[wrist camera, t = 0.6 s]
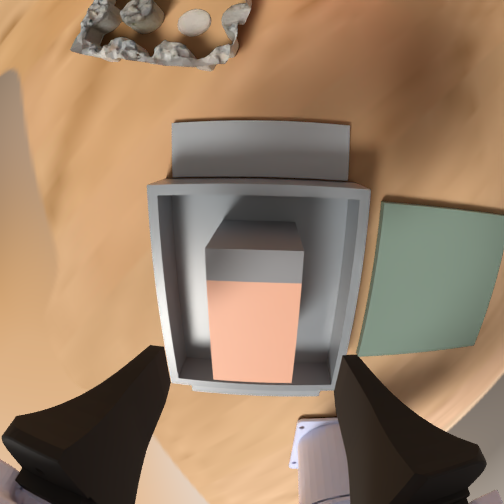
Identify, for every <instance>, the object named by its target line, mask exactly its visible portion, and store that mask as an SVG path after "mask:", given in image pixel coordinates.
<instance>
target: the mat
mask: <svg viewBox="0 0 504 504" xmlns="http://www.w3.org/2000/svg"><path fill="white" fill-rule="evenodd" d="M503 250H504V215H501V214H494V213H487V212H480V211H472V210H464V209H456V208H447V207H438V206H428V205H418V204H407V203H396V202H384V201H381V210H380V219H379V228H378V236H377V244H376V251H375V258H374V265H373V271H372V277H371V283H370V289H369V294H368V300H367V305H366V310H365V315H364V320H363V325H362V330H361V334H360V339H359V343H358V347H357V351H356V353H357V355H358V357H361V356H380V355H394V354H406V353H417V352H427V351H436V350H444V349H452V348H460V347H467V346H473V345H474V344H475V341H476V339H477V336H478V333H479V331H480V328H481V325H482V323H483V320H484V317H485V314H486V311H487V308H488V305H489V302H490V299H491V296H492V292H493V289H494V286H495V282H496V279H497V275H498V271H499V267H500V263H501V259H502V255H503Z"/></svg>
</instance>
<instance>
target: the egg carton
mask: <svg viewBox="0 0 504 504" xmlns="http://www.w3.org/2000/svg"><path fill="white" fill-rule="evenodd" d="M245 1H246V3H239V4H236V5H233V6H231V7H230V8H228V9H227V10H226V11H225V12H224V14H223V16H222V26H223V28H224V30H225V32H226V34H227V36H228V38H229V39H230V40H231V41H233V43H232V44H231V45H230V44H227V45H223V46H218V47H216V48H215V49H214V50H213V51H212V52H211V53H210V54H209V55H208V56H206V57H205V58H201V59H196V57H195V56H194V55H193V54H192V52H191V51H190V50H189V49H188V48H187V47H186V46H185V45H184V44H182V43H179V42H168V41H166V40H164V41H163V42H162V43H161V44H159V45H158V46H156V47H155V48H154V55H153V56H152V57H150V56H149V53H148V52H147V50H145V49H144V48H142V47H141V46H139V45H138V44H136V43H135V42H134V41H133V40H130V39H128V38H126V37H119V38H115V39H114V40H111V41H110V43H109V44H108V45H103V47H101V46H100V45H101V42H102V39H103V36H104V35H105V34H107V33H109V32H111V31H113V30H114V29H116V28H117V27H118V26H119V24H120V23H121V21H123V22H124V23H125V24H126V25H128V26H130V27H131V28H132V29H134V30H135V31H137V32H138V33H141V34H147V33H151V32H153V31H154V30H156V29H157V28H159V27H160V26H161V24H162V23H163V20H164V13H163V11H162V10H161V9H160V8H159V6H158V5H157V4H156V3H155V2H154V1H153V0H131V1H130V2H128V3H127V4H126V6H125V7H124V8H123V9H122V10H120V9H118V8H117V7H116V6H114V5H115V3H116V0H94V2H93V4H92V5H91V6H90V8H88V11H87V14H86V16H85V18H84V19H83V21H82V22H81V32H80V33H79V35H78V36H77V37H76V39H75V41H74V43H73V45H72V47H71V49H70V50H71V51H72V52H76V53H80V54H84V55H89V56H94V57H100V58H102V59H104V60H107V61H109V62H119V61H120V60H121V58H122V59H126V60H132V61H142V62H148V63H150V64H158V65H165V66H184V67H196V68H197V69H200V70H205V71H213V70H214V67H215V66H216V64H225V63H226V62H227V61H228V58H233V57H234V56H235V55H236V52H237V50H238V48H239V44H238V41H237V38H236V37H237V33H238V29H237V25H242V24H244V23H245V22H246V19H247V17H248V15H249V13H250V10H251V7H252V1H251V0H245ZM210 25H211V19H210V15H209V14H208V13H207V12H206V11H204V10H201V9H194V10H190V11H187V12H186V13H184V14H183V15H182V16H181V17H180V18H179V20H178V29H179V31H180V32H181V33H182V34H184V35H186V36H190V37H192V36H198V35H200V34H202V33H204V32H205V31H207V30H208V28H209V27H210Z"/></svg>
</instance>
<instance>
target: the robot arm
mask: <svg viewBox="0 0 504 504" xmlns="http://www.w3.org/2000/svg"><path fill="white" fill-rule="evenodd" d="M170 383H171V382H170V377H169V372H168V366H167V361H166V355H165V350H164V347H161V346H153V345H150V346H149V347H147V348H146V349H145V350H144V351H143V352H141V353H140V354H139V355H138V356H137V357H135V358H134V359H133V360H132V361H130V362H129V363H128V364H127V365H125V366H124V367H123V368H122V369H120V370H119V371H118V372H116V373H115V374H114V375H112V376H111V377H109V378H108V379H107V380H105V381H104V382H102V383H101V384H99V385H98V386H96V387H94V388H93V389H91V390H89V391H88V392H86V393H84V394H82V395H80V396H78V397H76V398H74V399H71V400H69V401H67V402H65V403H63V404H60V405H57V406H55V407H52V408H49V409H45V410H42V411H38V412H34V413H30V414H25V415H20V416H16V417H15V419H14V420H13V422H12V423H11V424H10V426H9V427H8V428H7V430H6V431H5V432H4V434H3V435H2V441H3V443H4V445H5V446H6V448H7V449H8V451H9V452H10V453H11V455H12V456H13V457H14V458H15V459H16V461H17V462H18V463H19V464H20V465H21V466H22V469H21V471H20V472H19V471H17V470H16V469H15V468H13V467H12V466H10V465H9V464H7V463H6V462H4V461H2V460H1V459H0V504H135V499H136V494H137V488H138V483H139V478H140V474H141V470H142V465H143V461H144V457H145V454H146V450H147V447H148V444H149V442H150V439H151V437H152V434H153V432H154V430H155V427H156V425H157V422H158V420H159V418H160V415H161V413H162V410H163V408H164V405H165V403H166V399H167V395H168V391H169V387H170ZM334 396H335V406H336V413H337V418H315V419H300V420H298V421H297V426H296V431H295V436H294V442H293V447H292V452H291V457H290V461H289V468H292V469H295V468H298V486H299V504H503V502H502V500H501V497H500V495H499V492H498V490H494V491H492V492H490V493H488V494H485V495H483V496H481V497H479V498H477V499H475V500H473V501H471V502H470V503H468V501H467V497H468V496H469V495H470V493H469V490H468V487H469V486H470V485H471V484H472V483H473V482H474V481H475V480H476V479H477V478H478V477H479V476H480V475H481V473H482V472H483V471H484V469H485V467H486V460H485V458H484V456H483V454H482V452H481V450H480V448H479V446H478V445H477V444H474V443H471V442H469V441H466V440H463V439H461V438H457V437H456V436H453V435H451V434H449V433H447V432H445V431H443V430H441V429H440V428H438V427H436V426H434V425H433V424H431V423H429V422H428V421H426V420H425V419H423V418H422V417H420V416H419V415H417V414H416V413H415V412H413V411H412V410H411V409H409V408H408V407H407V406H406V405H404V404H403V403H402V402H401V401H400V400H399V399H398V398H397V397H396V396H394V395H393V394H392V393H391V392H390V391H389V390H388V389H387V388H386V387H385V386H384V385H383V384H382V383H381V381H380V380H379V379H378V378H377V377H376V376H375V375H374V374H373V373H372V372H371V370H370V369H369V368H368V367H367V366H366V365H365V363H364V362H363V361H362V360H361V359H360V358H359V357H358V355H342V359H341V364H340V368H339V372H338V376H337V381H336V385H335V389H334Z"/></svg>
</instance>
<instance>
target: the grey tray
mask: <svg viewBox="0 0 504 504" xmlns="http://www.w3.org/2000/svg"><path fill="white" fill-rule="evenodd" d="M349 145H350V126H349V125H338V124H327V123H313V122H295V121H263V120H232V121H200V122H182V123H172V173H173V177H284V178H309V179H327V180H343V181H348V169H349ZM147 195H148V211H149V225H150V237H151V248H152V258H153V267H154V276H155V284H156V292H157V299H158V306H159V313H160V320H161V326H162V332H163V338H164V344H165V350H166V356H167V361H168V366H169V371H170V376H171V381H172V383H176V384H184V385H192V390H193V391H200V392H211V393H223V394H237V395H256V396H319V393H320V391H327V390H334V389H335V385H336V381H337V376H338V372H339V368H340V364H341V359H342V355H346V354H347V349H348V345H349V340H350V335H351V330H352V325H353V320H354V315H355V309H356V304H357V298H358V292H359V286H360V280H361V273H362V266H363V259H364V252H365V244H366V236H367V227H368V217H369V207H370V195H371V189H368V188H366V187H364V186H362V185H360V184H358V183H355V182H341V181H325V180H306V179H281V178H170V179H163V180H160V181H157V182H154V183H152V184H149V185H147ZM222 220H248V221H285V222H295V223H296V226H297V229H298V233H299V236H300V239H301V242H302V246H303V249H304V260H303V274H302V286H301V298H300V309H299V320H298V330H297V340H296V349H295V358H294V367H293V375H292V383H265V382H242V381H226V380H213V368H212V357H211V344H210V331H209V316H208V300H207V283H206V263H205V247H206V246H207V244H208V242H209V241H210V239H211V238H212V236H213V234H214V233H215V231H216V230H217V228H218V227H219V225H220V223H221V222H222Z"/></svg>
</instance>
